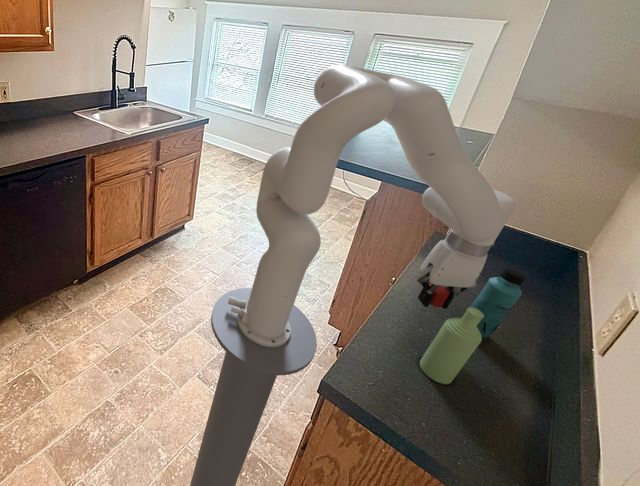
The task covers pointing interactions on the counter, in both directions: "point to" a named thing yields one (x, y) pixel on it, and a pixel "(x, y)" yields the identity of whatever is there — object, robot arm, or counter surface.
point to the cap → (439, 296)
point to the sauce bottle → (452, 347)
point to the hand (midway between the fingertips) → (432, 302)
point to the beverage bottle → (498, 299)
